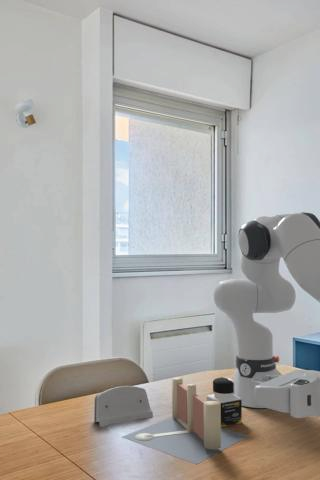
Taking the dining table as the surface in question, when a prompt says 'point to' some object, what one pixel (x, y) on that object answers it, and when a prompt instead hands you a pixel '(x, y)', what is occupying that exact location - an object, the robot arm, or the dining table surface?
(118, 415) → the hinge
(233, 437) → the board
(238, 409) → the medicine bottle
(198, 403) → the swing panel
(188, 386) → the fixed fence
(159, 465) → the dining table surface
